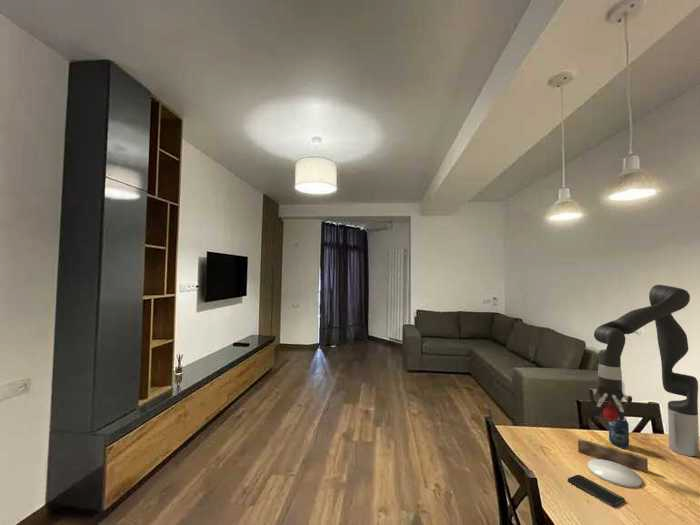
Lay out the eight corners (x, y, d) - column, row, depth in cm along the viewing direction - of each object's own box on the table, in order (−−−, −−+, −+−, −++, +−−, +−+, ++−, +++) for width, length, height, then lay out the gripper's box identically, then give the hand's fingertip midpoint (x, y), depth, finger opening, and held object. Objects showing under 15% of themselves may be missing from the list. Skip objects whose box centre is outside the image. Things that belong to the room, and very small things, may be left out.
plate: (601, 458, 133) (601, 455, 133) (650, 480, 119) (650, 477, 119) (579, 467, 126) (578, 465, 126) (628, 492, 112) (628, 489, 112)
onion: (622, 426, 126) (622, 405, 127) (606, 424, 128) (606, 403, 128) (614, 420, 132) (613, 400, 132) (598, 418, 133) (598, 398, 134)
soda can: (612, 446, 142) (611, 419, 143) (606, 439, 149) (606, 413, 149) (632, 450, 140) (631, 422, 140) (625, 442, 146) (624, 416, 147)
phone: (578, 474, 121) (626, 499, 107) (578, 477, 121) (626, 502, 107) (565, 479, 118) (613, 505, 104) (565, 482, 117) (613, 509, 104)
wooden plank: (578, 452, 138) (578, 440, 138) (578, 450, 139) (578, 438, 139) (647, 472, 124) (647, 459, 124) (647, 470, 125) (647, 457, 125)
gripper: (587, 374, 133) (587, 415, 132) (633, 382, 123) (634, 427, 122) (588, 370, 138) (588, 410, 137) (632, 378, 129) (633, 420, 128)
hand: (610, 418), depth 130 cm, fingers closed on onion, 6 cm apart
